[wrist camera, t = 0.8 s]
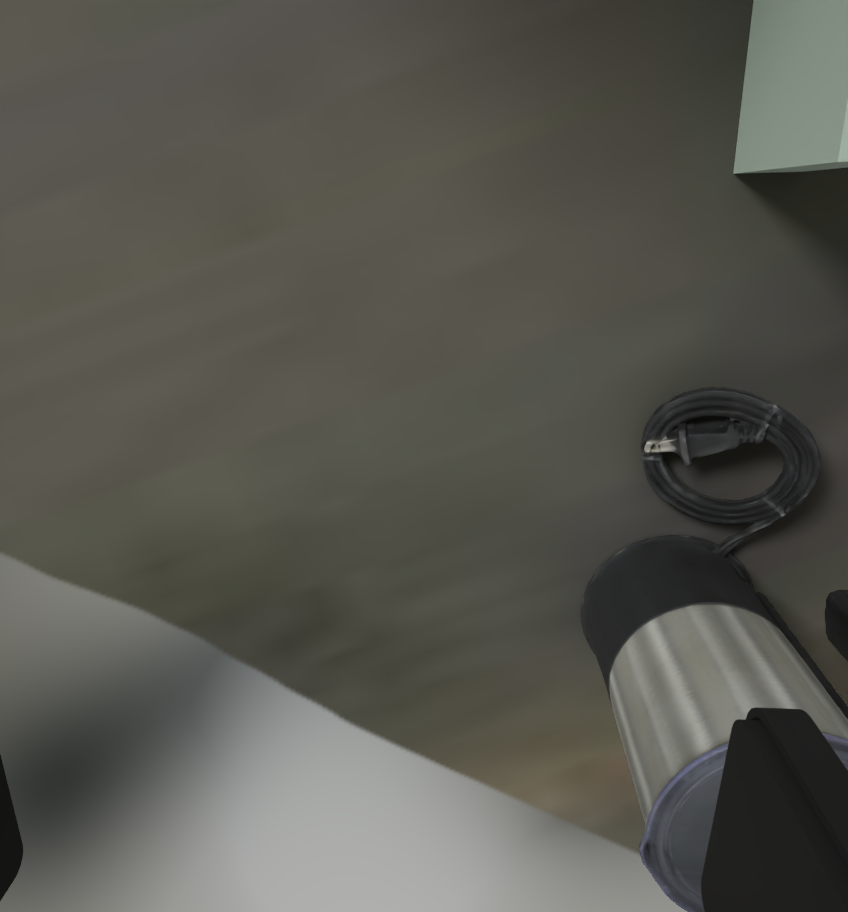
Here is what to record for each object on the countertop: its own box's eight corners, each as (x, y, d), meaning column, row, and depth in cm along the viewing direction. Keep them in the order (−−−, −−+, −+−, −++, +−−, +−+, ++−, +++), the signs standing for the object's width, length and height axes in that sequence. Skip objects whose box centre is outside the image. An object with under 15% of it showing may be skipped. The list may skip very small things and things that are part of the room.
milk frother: (621, 703, 40) (708, 967, 26) (487, 483, 36) (506, 659, 22) (865, 597, 37) (1108, 832, 23) (751, 345, 33) (965, 447, 19)
